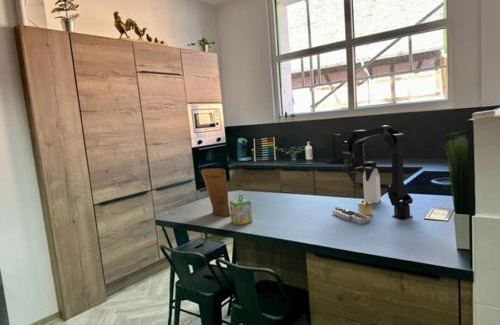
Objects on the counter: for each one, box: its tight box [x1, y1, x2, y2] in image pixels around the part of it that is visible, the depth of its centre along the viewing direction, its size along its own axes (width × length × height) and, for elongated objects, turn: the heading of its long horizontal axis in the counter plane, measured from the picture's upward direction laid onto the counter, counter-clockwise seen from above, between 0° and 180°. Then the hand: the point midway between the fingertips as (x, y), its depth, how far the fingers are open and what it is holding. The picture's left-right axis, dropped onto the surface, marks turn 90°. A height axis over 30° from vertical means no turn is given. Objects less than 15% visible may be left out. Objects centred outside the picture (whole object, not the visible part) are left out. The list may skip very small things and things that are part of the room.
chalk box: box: [229, 193, 253, 226], centre depth 178 cm, size 9×9×15 cm
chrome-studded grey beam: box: [332, 206, 371, 225], centre depth 167 cm, size 22×8×3 cm, turn 23°
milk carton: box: [362, 168, 382, 204], centre depth 191 cm, size 7×7×19 cm
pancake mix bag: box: [200, 167, 231, 218], centre depth 195 cm, size 7×19×28 cm, turn 45°
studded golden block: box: [357, 200, 373, 216], centre depth 170 cm, size 5×4×7 cm
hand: (360, 182), depth 181 cm, fingers open, 9 cm apart
